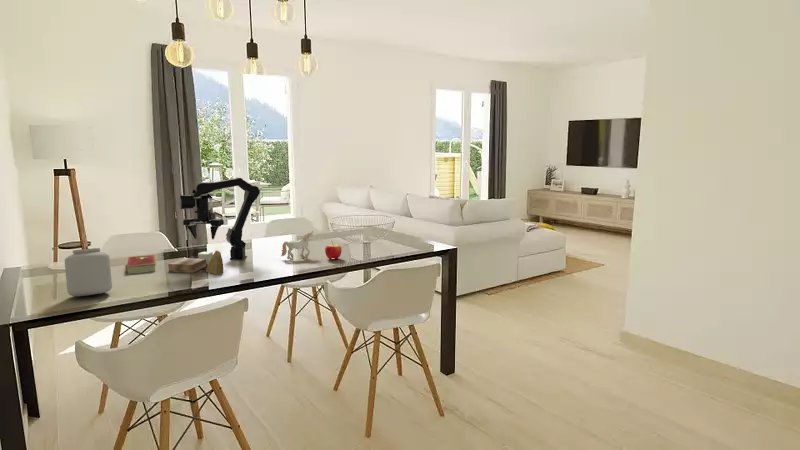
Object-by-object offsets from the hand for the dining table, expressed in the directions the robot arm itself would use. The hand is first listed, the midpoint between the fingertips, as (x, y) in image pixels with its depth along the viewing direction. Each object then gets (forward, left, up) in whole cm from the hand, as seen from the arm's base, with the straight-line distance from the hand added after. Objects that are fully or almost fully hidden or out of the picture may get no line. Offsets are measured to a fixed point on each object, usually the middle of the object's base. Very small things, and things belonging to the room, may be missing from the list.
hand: (204, 239), depth 245 cm
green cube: (0, 0, -12) cm, 12 cm away
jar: (+17, +57, -12) cm, 61 cm away
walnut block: (+2, +13, -12) cm, 18 cm away
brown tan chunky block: (-14, +18, -12) cm, 26 cm away
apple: (-61, -17, -12) cm, 65 cm away
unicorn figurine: (-42, -18, -12) cm, 47 cm away
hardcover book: (+25, +14, -13) cm, 31 cm away
